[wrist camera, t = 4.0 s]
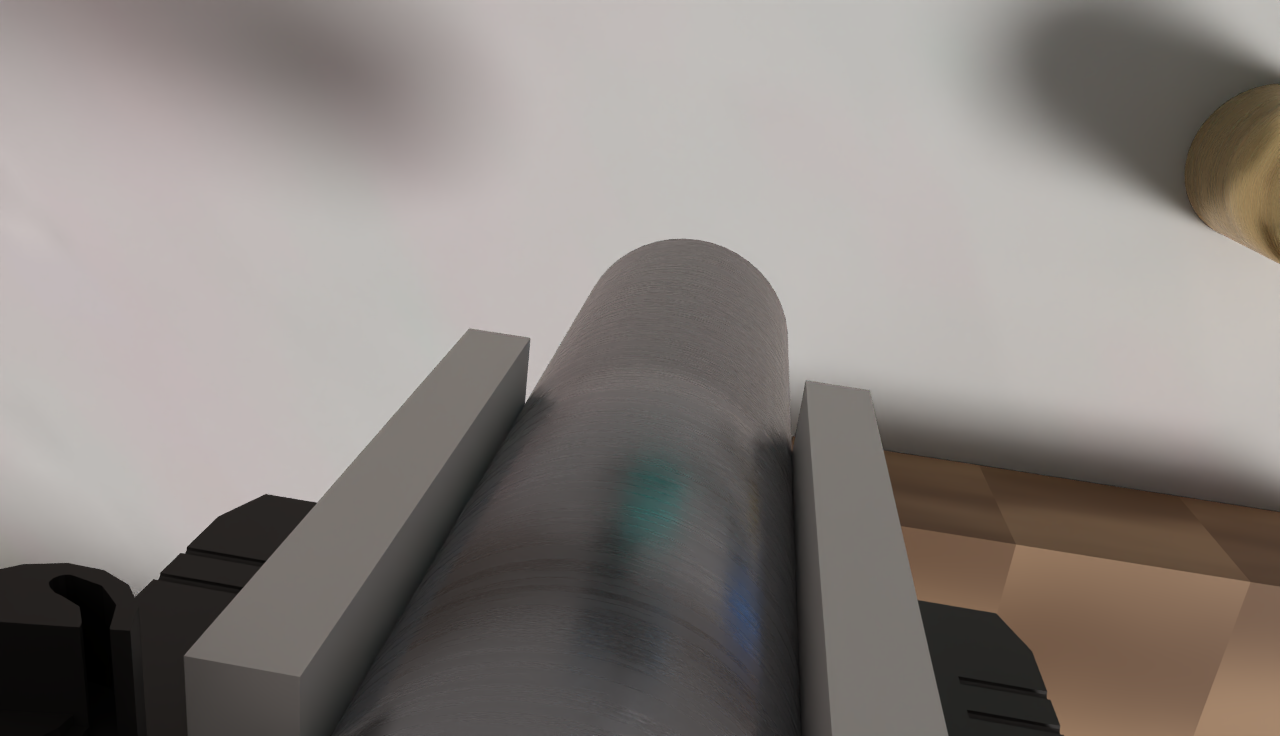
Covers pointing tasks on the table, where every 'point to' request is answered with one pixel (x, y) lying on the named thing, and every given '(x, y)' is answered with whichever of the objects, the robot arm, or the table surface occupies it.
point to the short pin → (1240, 170)
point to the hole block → (1108, 592)
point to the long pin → (621, 532)
